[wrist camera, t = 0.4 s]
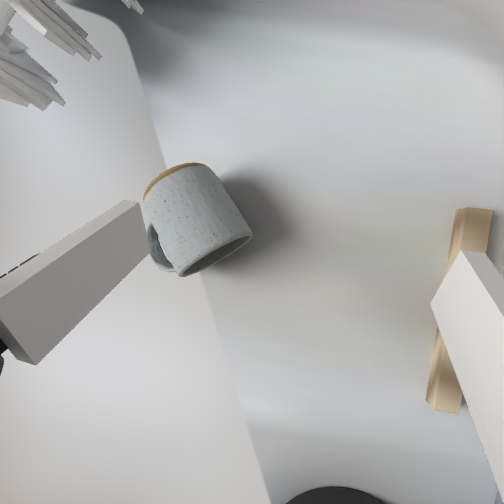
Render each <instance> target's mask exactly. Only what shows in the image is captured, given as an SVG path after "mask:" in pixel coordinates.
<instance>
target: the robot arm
mask: <svg viewBox="0 0 504 504" xmlns="http://www.w3.org/2000/svg"><path fill="white" fill-rule="evenodd" d="M150 252H151V250H150V246H149V242H148V238H147V234H146V229H145V225H144V221H143V217H142V213H141V208H140V204H139V202H135V201H128V200H124V201H122V202H120V203H119V204H117V205H116V206H114V207H113V208H111V209H109V210H108V211H106V212H105V213H103V214H101V215H100V216H98V217H97V218H95V219H94V220H92V221H91V222H89V223H87V224H86V225H84V226H83V227H81V228H80V229H78V230H76V231H75V232H73V233H72V234H70V235H68V236H67V237H65V238H64V239H62V240H60V241H59V242H57V243H56V244H54V245H53V246H51V247H50V248H48V249H46V250H45V251H43V252H42V253H39V254H37V255H35V256H33V257H31V258H29V259H28V260H26V261H25V262H23V263H21V264H20V266H19V267H18V266H17V267H15V268H14V269H12V270H10V271H9V273H8V274H4V275H2V276H1V277H0V375H1V371H2V368H3V364H4V359H3V357H2V356H1V354H2V353H3V352H4V351H5V350H7V349H9V350H10V351H11V353H12V354H13V355H14V356H15V357H16V359H17V360H20V361H24V362H27V363H30V364H33V365H37V364H38V363H39V362H40V361H41V360H42V359H43V358H44V357H45V356H46V355H47V354H48V353H49V352H50V351H51V350H52V349H53V348H54V347H55V346H56V345H57V344H58V343H59V342H60V341H61V340H62V339H63V338H64V337H65V336H66V335H67V334H68V333H69V332H70V331H71V330H72V329H73V328H74V327H75V326H76V325H77V324H78V323H79V322H80V321H81V320H82V319H83V318H84V317H85V316H86V315H87V314H88V313H89V312H90V311H91V310H92V309H93V308H94V307H95V306H96V305H97V304H98V303H99V302H100V301H101V300H102V299H103V298H104V297H105V296H106V295H107V294H108V293H109V292H110V291H111V290H112V289H113V288H114V287H115V286H116V285H117V284H118V283H119V282H120V281H121V280H122V279H123V278H124V277H125V276H126V275H127V274H128V273H130V272H131V270H133V269H134V268H135V266H137V265H138V264H139V263H140V262H141V260H143V259H144V258H145V257H146V256H147V255H148V254H149V253H150ZM430 305H431V308H432V311H433V313H434V316H435V319H436V322H437V324H438V327H439V330H440V332H441V335H442V338H443V341H444V343H445V346H446V349H447V351H448V354H449V357H450V360H451V362H452V365H453V368H454V370H455V373H456V376H457V378H458V381H459V384H460V387H461V389H462V392H463V395H464V397H465V400H466V403H467V406H468V408H469V411H470V414H471V416H472V419H473V422H474V425H475V427H476V430H477V433H478V435H479V438H480V441H481V444H482V446H483V449H484V452H485V454H486V457H487V460H488V463H489V465H490V468H491V471H492V473H493V476H494V479H495V481H496V484H497V487H498V490H499V492H500V495H501V498H502V500H503V503H504V278H503V277H502V275H501V274H500V273H499V271H498V270H497V269H496V267H495V266H494V265H493V263H492V262H491V261H490V259H489V258H488V257H487V255H486V254H485V253H479V252H472V251H466V250H460V252H459V254H458V256H457V257H456V259H455V261H454V263H453V264H452V266H451V268H450V270H449V271H448V273H447V275H446V277H445V278H444V280H443V282H442V284H441V285H440V287H439V289H438V291H437V292H436V294H435V296H434V298H433V299H432V301H431V303H430ZM287 504H384V503H382V502H381V501H379V500H377V499H375V498H374V497H372V496H369V495H367V494H365V493H362V492H359V491H356V490H352V489H347V488H340V487H326V488H318V489H314V490H310V491H307V492H305V493H302V494H300V495H298V496H296V497H295V498H293V499H292V500H290V501H289V502H288V503H287Z"/></svg>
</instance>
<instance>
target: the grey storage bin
mask: <svg viewBox="0 0 504 504" xmlns="http://www.w3.org/2000/svg"><path fill="white" fill-rule="evenodd" d="M495 504H504V503H503V500H502V498H501V495H500V492H499V490H498V494H497V498H496V502H495Z"/></svg>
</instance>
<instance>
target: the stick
mask: <svg viewBox="0 0 504 504" xmlns="http://www.w3.org/2000/svg"><path fill="white" fill-rule="evenodd" d="M492 214H493V210H485V209H475V208H464V209H459V210H456V212H455V218H454V225H453V231H452V237H451V244H450V250H449V256H448V263H447V269H446V275H447V273H448V271H449V270H450V268H451V266H452V264H453V263H454V261H455V259H456V257H457V256H458V254H459V252H460V250H466V251H472V252H479V253H485V254H486V251H487V245H488V239H489V233H490V227H491V220H492ZM446 275H445V277H446ZM462 395H463V392H462V389H461V387H460V384H459V381H458V378H457V376H456V373H455V370H454V368H453V365H452V362H451V360H450V357H449V354H448V351H447V349H446V346H445V343H444V341H443V338H442V335H441V332H440V330H439V327H438V326H437V332H436V338H435V344H434V351H433V357H432V363H431V370H430V376H429V382H428V389H427V395H426V401H427V402H428V403H429V404H430V405H431V407H432V408H433V409H434V410H436V411H441V412H446V413H451V414H456V415H459V413H460V407H461V401H462Z"/></svg>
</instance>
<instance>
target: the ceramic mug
mask: <svg viewBox="0 0 504 504" xmlns="http://www.w3.org/2000/svg"><path fill="white" fill-rule="evenodd" d="M143 200H144V205H145V209H146V211H147V214H148V217H149V219H150V222H149V224H148V227H147V229H146V234H147V238H148V242H149V246H150V250H151V252H150V253H149V254H150V256H151V259H152V260H153V262H154V263H155V264H156V265H157V266H158V267H159V268H160V269H162V270H164V271H168V272H176V273H177V274H178V275H179V276H180V277H185V276H188V275H191V274H194V273H197V272H199V271H201V270H203V269H205V268H207V267H210V266H211V265H213V264H215V263H217V262H219V261H220V260H222V259H224V258H226V257H228V256H229V255H231V254H232V253H234V252H236V251H237V250H238V249H240V248H241V247H242V246H244V245H245V244H246V243H247V242H249V241H250V239H251V238H252V236H253V232H252V231H251V229H250V227H249V226H248V224H247V223H246V221H245V220H244V218H243V216H242V215H241V213H240V211H239V210H238V208H237V207H236V205H235V203H234V202H233V200H232V199H231V198H230V196H229V194H228V193H227V191H226V189H225V188H224V186H223V184H222V183H221V181H220V180H219V178H218V177H217V176H216V175H215V173H214V172H213V171H212V170H211V169H210V168H209V167H208V166H206V165H204V164H200V163H185V164H181V165H178V166H175V167H172V168H170V169H168V170H167V171H165V172H163V173H162V174H160V175H159V176H158V177H156V178H155V179H154V180H153V181H152V182H151V183H150V185H149V186H148V187H147V189H146V191H145V193H144V198H143ZM158 236H159V238H160V240H161V242H162V244H163V246H164V249H165V251H166V253H167V255H168V257H169V259H170V261H171V263H172V264H171V263H170V262H169V261H168V260H167V258H166V257H165V255H164V253H163V250H162V248H161V246H160V242H159V240H158Z"/></svg>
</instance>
